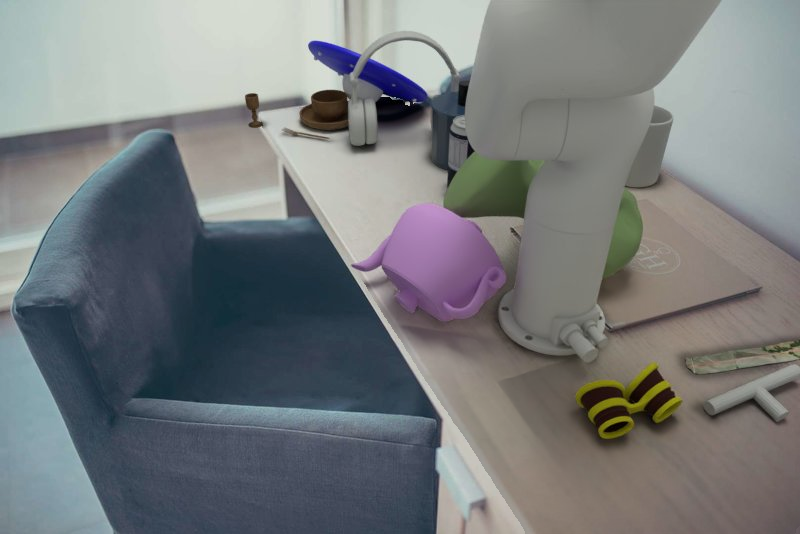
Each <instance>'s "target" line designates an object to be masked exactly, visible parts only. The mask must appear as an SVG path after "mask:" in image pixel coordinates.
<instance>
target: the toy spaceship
mask: <svg viewBox="0 0 800 534" xmlns="http://www.w3.org/2000/svg"><path fill="white" fill-rule="evenodd" d="M307 46H308V47H307V48H308V50H309V52H310V53H311V54H312V55H313V60H314V61H319V62H320V63H321V64H323V65H324V66H325V67H327V68H329V69H330V70H332V71H334V72H335V73H337V75H338V76H339V77H340V76H342V83H341V84H342V91H343V92H345V93H346V94H347V99H348V100H350V98H352V85H351V82H350V76H349V75H350V73H351V72H353V71H354V68H355V66H356V64H357V62H358V60H359V58H360V57H361V55H362V53H358V52H357V51H353V50H351V49H348V48H346V47H343V46H340V45H338V44H335V43H331V42H327V41H322V40H311V41H309V42H308V44H307ZM357 81H358V84H357V85H356V92H357V97H358V98H362V100H363V99H365V98H372V99H374V101H375V103H376V102H378V101H379V100H380V99H381V97H382V96H383V95H384V96H387V97H389V98H392V99H396V100H399V101H402V103H404V104H405V103H408V102H409V103H423V102H426V101H427V100H428V98H429V97H428V93H427V91H426V90H425V89H424V88H423V87H422V86H420V84H418V83H416V82H414V81H413V80H412V79H410V78H408V77H407V76H406V75H403V74H402V73H401V72H398V71H397V70H395V69H393V68H391V67H389V66H387V65H385V64H382V63H381V62H379V61H377V60H374V59H372V58H370V59H369V60H368V61H367V63H366V64H365V66H364V68H363V69H362V71H361V73H360V74H359V76H358V77H357ZM394 97H396V98H394ZM397 98H400V99H403V100H404V101H403V100H400V99H397Z"/></svg>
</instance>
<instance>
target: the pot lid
mask: <svg viewBox="0 0 800 534" xmlns="http://www.w3.org/2000/svg"><path fill="white" fill-rule="evenodd" d="M469 83H470V80H460V81H458V92H450V91H449V92H445V93H441V94H437V95H438V96H437V97H435V98H434V99H433V100H432V99H431V101H432V102H430V109H431V108H432V109H433V111H434V112H436V113H437V114H439V115H442V116H444V117H448V118H453V119H454V118H456V117H458V116H461V115H465V106H466V98H467V93H468V88H469Z"/></svg>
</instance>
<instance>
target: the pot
mask: <svg viewBox="0 0 800 534" xmlns="http://www.w3.org/2000/svg"><path fill="white" fill-rule="evenodd" d="M453 120H454V119H453V118H448V117H444V116H442V115H439V114H437V113H436V112H434V111H433V110H432V129H431V142H430V143H431V144H430V159H431V162H432V163H433V164H434V165H435V166H437V167H439V168H441V169H443V170H446V171H448V159H449V139H450V127H451V125H452V124H453Z"/></svg>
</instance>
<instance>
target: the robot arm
mask: <svg viewBox="0 0 800 534" xmlns="http://www.w3.org/2000/svg"><path fill="white" fill-rule="evenodd" d="M722 1H723V0H490V1H489V3H488V6H487V8H486V10H485V14H484V17H483V22H482V25H481V30H480V34H479V40H478V43H477V49H476V53H475V58H474V61H473V65H472V70H471V76H470V78H469V79H470V80H469V81H470V83H469V88H468V93H467V98H466V106H465V128H466V134H467V137H468V140H469V143H470V145H471V146H472V148H473V149H474V150H475V152H476V153H478V154H479V155H480V156H482V157H484V158H487V159H490V160H501V161H513V160H546V161H545V162H544V163H543V165H542V166H541V167H540V168H539V170H538V171H537V173H536V174H535V176H534V178H533V180H532V182H531V184H530V187H529V190H528V194H527V200H526V206H525V213H524V219H523V221H522V228H521V236H520V244H519V249H518V250H519V251H518V258H517V267H516V274H515V280H514V287H512V288H511V289H510V290H509V291H507V292H506V293H505V294H504V295H503V296H502V298H501V299H500V301H499V303H498V311H497V320H498V323H499V325H500V327H501V329H502V330H503V332H504V333H505V334H506V335H507V336H508V337H509V338H510V339H511V340H513V342H515V343H516V344H518V345H520V346H522V347H523V348H525V349H526V350H527V349H528V350H531V351H533V352H536V353H539V354H544V355H549V356H573V355H577V356H578V357H579V358H580V360H582V362H583V363H585V364H587V363H591V362H593V361H594V360H595V359H596V358H597V357H598V355H599V350H598V349H597V348H596V347H595V346H597V347H598V348H601V349H602V348H605V347H606V346H608V344H609V342H610V340H609V338H608V337H607V336H606V335H605V334H604V332H605V329H606V318H605V314H604V312H603V310H602V307H600V305H599V304H598V303H597V302H598V297H599V293H600V289H601V284H602V280H603V279H602V277H603V273H604V268H605V264H606V260H607V256H608V251H609V247H610V243H611V239H612V234H613V230H614V226H615V222H616V219H617V215H618V210H619V206H620V202H621V198H622V195H623V191H624V187H625V188H626V186H625V184H626V181H627V178H628V175H629V172H630V169H631V167H632V164H633V162H634V159H635V157H636V155H637V153H638V150H639V148H640V146H641V144H642V142H643V140H644V138H645V136H646V133H647V131H648V128H649V125H650V122H651V119H652V115H653V110H654V105H655V91H654V88H656V87H657V86H658V85H659V84H661V83H662V81H664V79H666V78H667V76H668V75H669V74H670V73H671V71H672V70H673V69H674V68H675V66H676V65H677V63H678V62H679V61H680V60H681V58H682V57H683V56H684V54H685V53H686V52H687V50H688V48H689V47H690V46H691V44H692V43H693V42H694V41H695V40H696V38H697V37H698V35H699V34H700V32H701V31H702V30H703V28H704V26H705V25H706V24H707V22H708V20H709V19H710V18H711V17H712V15H713V14H714V12H715V11H716V9H717V8H718V7H719V5H720V4H721V2H722Z"/></svg>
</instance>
